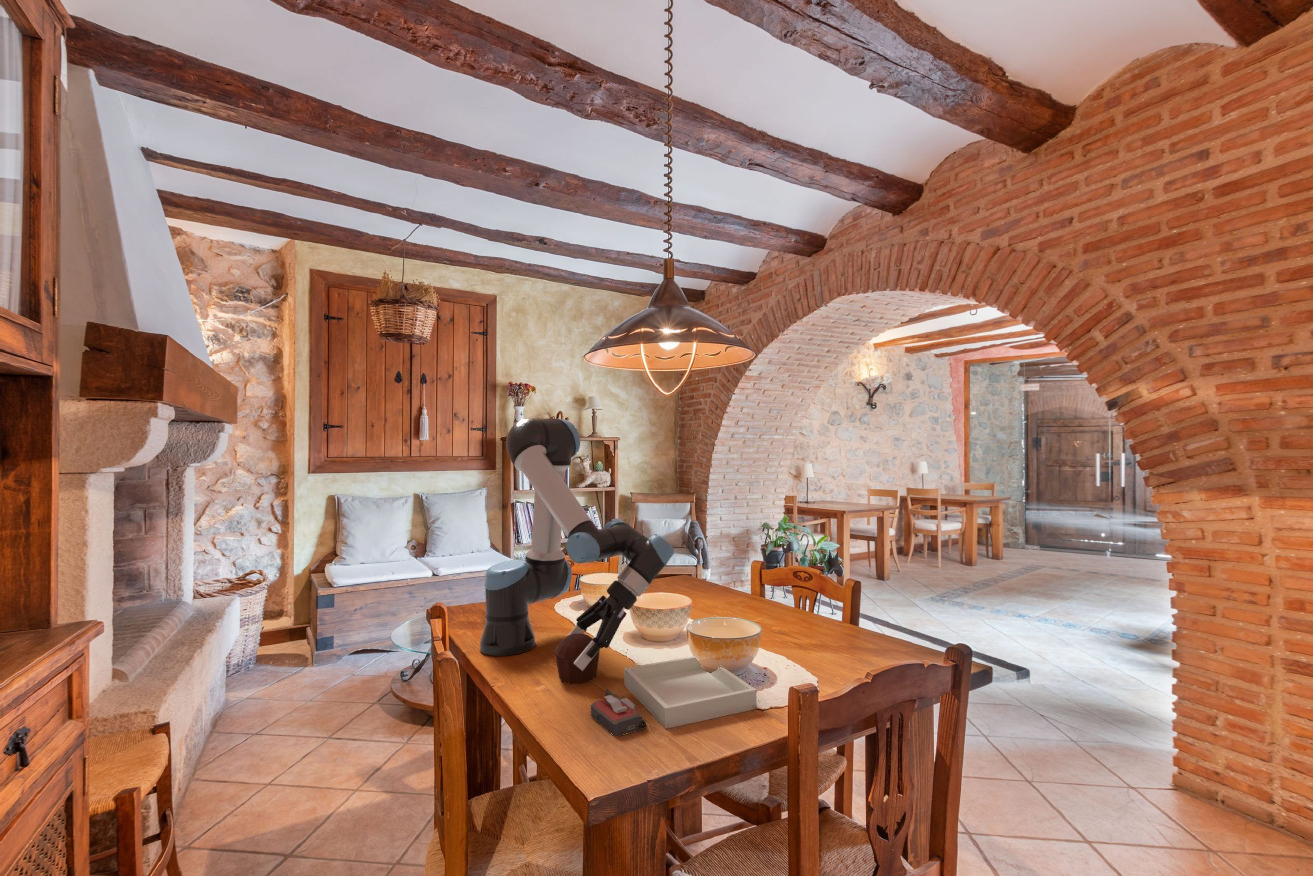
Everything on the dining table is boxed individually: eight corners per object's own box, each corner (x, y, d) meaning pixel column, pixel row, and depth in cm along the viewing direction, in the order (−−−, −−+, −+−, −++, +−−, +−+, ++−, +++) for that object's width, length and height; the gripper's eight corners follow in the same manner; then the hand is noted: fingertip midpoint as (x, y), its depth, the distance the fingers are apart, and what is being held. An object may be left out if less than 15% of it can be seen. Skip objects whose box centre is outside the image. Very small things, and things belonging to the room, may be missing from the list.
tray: (624, 685, 142) (624, 668, 142) (704, 670, 150) (704, 654, 150) (665, 728, 120) (665, 708, 120) (756, 708, 128) (756, 689, 128)
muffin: (598, 686, 142) (597, 643, 142) (551, 687, 142) (550, 644, 142) (602, 667, 154) (601, 628, 154) (558, 668, 153) (557, 629, 154)
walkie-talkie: (656, 730, 120) (610, 695, 137) (655, 707, 120) (609, 676, 137) (617, 742, 116) (574, 705, 133) (616, 719, 116) (574, 685, 133)
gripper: (656, 609, 143) (596, 685, 137) (620, 587, 166) (568, 651, 159) (634, 589, 141) (572, 665, 135) (601, 570, 164) (547, 634, 157)
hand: (570, 657), depth 147 cm, fingers open, 13 cm apart
